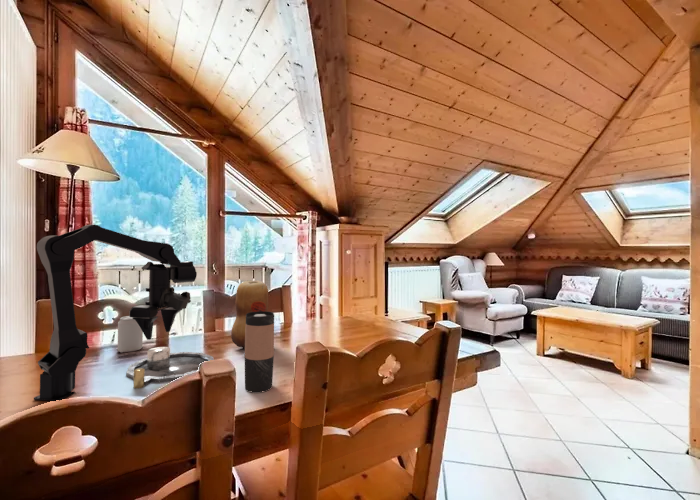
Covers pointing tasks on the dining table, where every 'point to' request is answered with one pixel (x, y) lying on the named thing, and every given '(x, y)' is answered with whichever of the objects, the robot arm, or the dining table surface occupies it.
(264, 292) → the butternut squash
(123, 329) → the can
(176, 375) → the curvy grey metal tray
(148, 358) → the cover
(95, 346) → the dining table surface
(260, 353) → the travel mug
